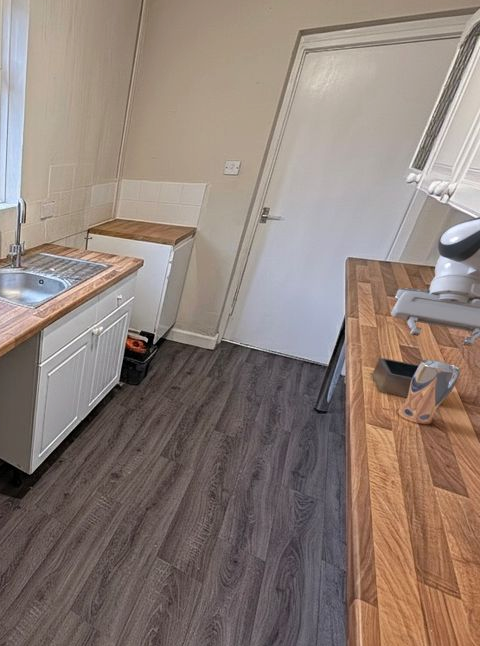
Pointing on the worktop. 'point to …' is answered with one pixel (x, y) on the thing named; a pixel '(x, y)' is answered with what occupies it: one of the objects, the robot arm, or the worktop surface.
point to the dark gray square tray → (394, 376)
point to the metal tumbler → (428, 390)
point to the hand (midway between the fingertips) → (440, 339)
